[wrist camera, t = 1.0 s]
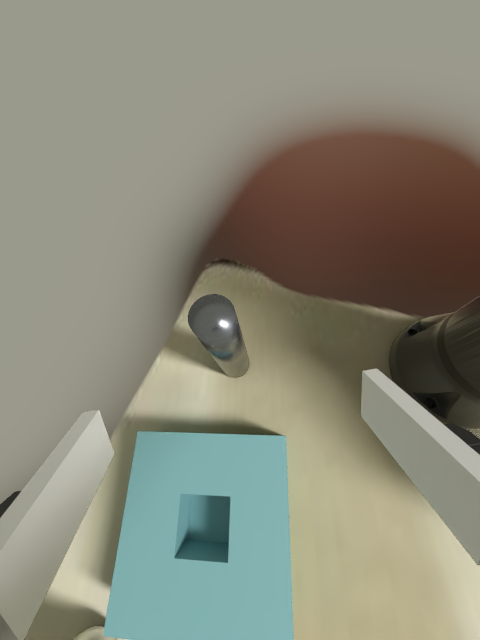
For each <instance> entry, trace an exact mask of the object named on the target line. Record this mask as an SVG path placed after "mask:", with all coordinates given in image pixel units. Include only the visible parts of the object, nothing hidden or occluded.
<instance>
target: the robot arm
mask: <svg viewBox="0 0 480 640" xmlns="http://www.w3.org/2000/svg"><path fill="white" fill-rule="evenodd" d="M389 363H390V371H391V375H392V378H393V380H394V382H392V381H391V380H390V379H389V378H388V377H387V376H385V375H384V374H383V373H382V372H381V371H379V370H378V369H371V370H364V371H362V397H361V417H362V418H363V419H364V421H365V422H366V423H367V425H368V426H369V427H370V428H371V430H372V431H373V432H374V433H375V435H376V436H377V437H378V439H379V440H380V441H381V442H382V444H383V445H384V446H385V448H386V449H387V450H388V451H389V453H390V454H391V455H392V456H393V458H394V459H395V460H396V462H397V463H398V464H399V465H400V467H401V468H402V469H403V470H404V472H405V473H406V474H407V476H408V477H409V478H410V479H411V481H412V482H413V483H414V485H415V486H416V487H417V488H418V490H419V491H420V492H421V493H422V495H423V496H424V497H425V499H426V500H427V501H428V502H429V504H430V505H431V506H432V508H433V509H434V510H435V511H436V513H437V514H438V515H439V516H440V518H441V519H442V520H443V522H444V523H445V524H446V525H447V527H448V528H449V529H450V531H451V532H452V533H453V534H454V536H455V537H456V538H457V539H458V541H459V542H460V543H461V545H462V546H463V547H464V548H465V550H466V551H467V552H468V554H469V555H470V556H471V557H472V559H473V560H474V561H475V562H476V564H477V565H480V439H478V438H477V437H476V436H475V435H473V434H472V433H471V432H470V431H468V430H466V429H480V296H479V297H478V298H476V299H474V300H473V301H471V302H470V303H468V304H466V305H465V306H463V307H462V308H460V309H459V310H457V311H456V312H454V313H449V314H443V315H438V316H432V317H428V318H424V319H422V320H419V321H417V322H415V323H413V324H412V325H410V326H409V327H408V328H406V329H405V330H404V331H403V332H401V333H400V334H399V336H398V337H397V338H396V340H395V341H394V343H393V345H392V348H391V351H390V359H389ZM113 456H114V451H113V448H112V445H111V443H110V440H109V437H108V434H107V431H106V429H105V426H104V423H103V420H102V417H101V414H100V411H99V410H94V411H87V412H83V413H82V414H81V415H80V417H79V418H78V419H77V421H76V422H75V423H74V425H73V426H72V427H71V428H70V430H69V431H68V432H67V433H66V435H65V436H64V437H63V439H62V440H61V441H60V442H59V444H58V445H57V446H56V448H55V449H54V450H53V451H52V453H51V454H50V455H49V456H48V458H47V459H46V460H45V462H44V463H43V464H42V466H41V467H40V468H39V469H38V470H37V472H36V473H35V474H34V476H33V477H32V478H31V479H30V481H29V482H28V483H27V485H26V486H25V487H24V489H23V490H22V491H17V492H14V493H13V494H12V495H11V496H10V497H8V498H7V499H6V500H5V501H4V502H3V503H1V504H0V640H24V639H25V637H26V635H27V633H28V631H29V629H30V627H31V625H32V623H33V621H34V618H35V616H36V614H37V612H38V610H39V608H40V606H41V604H42V602H43V600H44V598H45V596H46V594H47V592H48V590H49V588H50V586H51V583H52V581H53V579H54V577H55V575H56V573H57V571H58V569H59V567H60V565H61V563H62V561H63V559H64V557H65V555H66V553H67V551H68V549H69V546H70V544H71V542H72V540H73V538H74V536H75V534H76V532H77V530H78V528H79V526H80V524H81V522H82V520H83V518H84V516H85V514H86V512H87V509H88V507H89V505H90V503H91V501H92V499H93V497H94V495H95V493H96V491H97V489H98V487H99V485H100V483H101V481H102V479H103V477H104V475H105V472H106V470H107V468H108V466H109V464H110V462H111V460H112V458H113Z"/></svg>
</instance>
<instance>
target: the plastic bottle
mask: <svg viewBox="0 0 480 640" xmlns="http://www.w3.org/2000/svg"><path fill="white" fill-rule="evenodd" d="M103 632H104V627H102V626H93V627H90V628H88V629H86V630H84V631H83V632H81V633H80V634H79V635H77V636H76V637H75V638H74V639H72V640H116V638H114V637H106V636H103Z"/></svg>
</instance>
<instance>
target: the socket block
mask: <svg viewBox="0 0 480 640" xmlns="http://www.w3.org/2000/svg"><path fill="white" fill-rule="evenodd" d="M103 636H106V637H114V638H122V639H130V640H294V637H293V610H292V583H291V557H290V530H289V504H288V477H287V451H286V436H281V435H250V434H219V433H189V432H158V431H138V432H137V438H136V444H135V450H134V456H133V462H132V468H131V473H130V479H129V485H128V491H127V497H126V503H125V509H124V515H123V520H122V526H121V532H120V538H119V544H118V550H117V556H116V562H115V567H114V573H113V579H112V585H111V591H110V597H109V603H108V609H107V614H106V620H105V626H104V632H103Z"/></svg>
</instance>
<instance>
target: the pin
mask: <svg viewBox="0 0 480 640" xmlns="http://www.w3.org/2000/svg"><path fill="white" fill-rule="evenodd" d="M188 323H189V326H190V328H191V329H192V331H193V332H194V333H195V335H196V336H197V337H198V339H199V340H200V341H201V343H202V344H203V345H204V347H205V348H206V349H207V351H208V352H209V353H210V355H211V356H212V357H213V358H214V360H215V361H216V362H217V364H218V365H219V366H220V368H221V369H222V370H223V372H224V373H225V374H226V375H227V376H229V377H233V378H237V377H241V376H243V375H244V374H245V373H246V372H247V370H248V368H249V358H248V354H247V351H246V347H245V344H244V340H243V337H242V333H241V330H240V326H239V323H238V319H237V316H236V312H235V309H234V306H233V304H232V303H231V301H230V300H228V299H227V298H226V297H224V296H221V295H217V294H211V295H206V296H203V297H201V298H200V299H198V300H197V301H196V302H195V303H194V304H193V305H192V306H191V308H190V310H189V314H188Z"/></svg>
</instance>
